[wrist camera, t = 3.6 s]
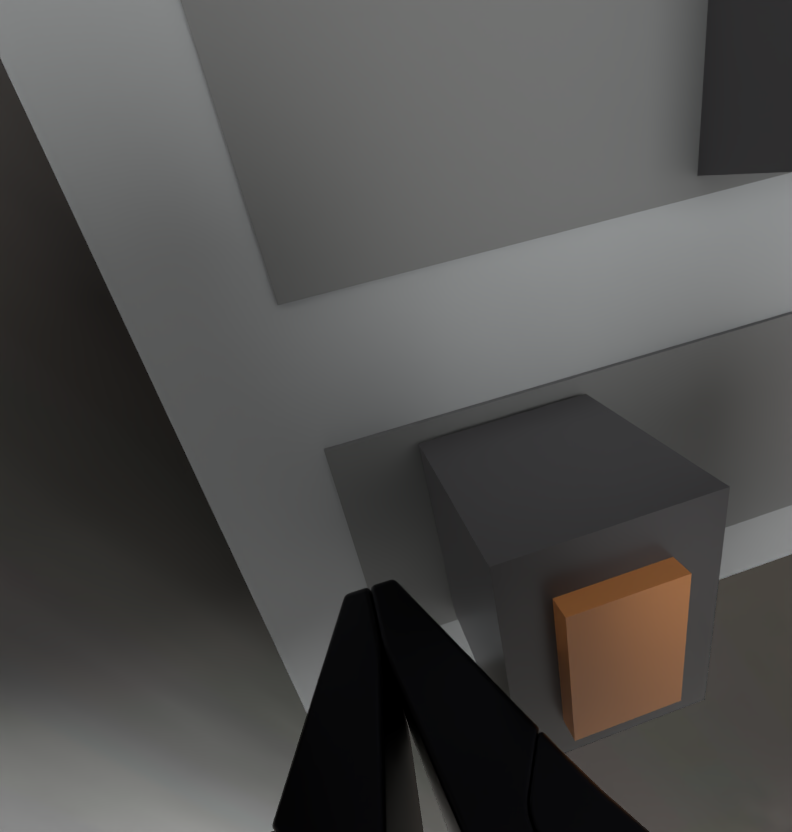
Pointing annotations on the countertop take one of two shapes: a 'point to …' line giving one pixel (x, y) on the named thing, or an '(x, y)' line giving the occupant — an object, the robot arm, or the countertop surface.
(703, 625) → the block
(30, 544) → the countertop surface
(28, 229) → the countertop surface
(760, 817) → the countertop surface
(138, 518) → the countertop surface
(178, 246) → the panel
